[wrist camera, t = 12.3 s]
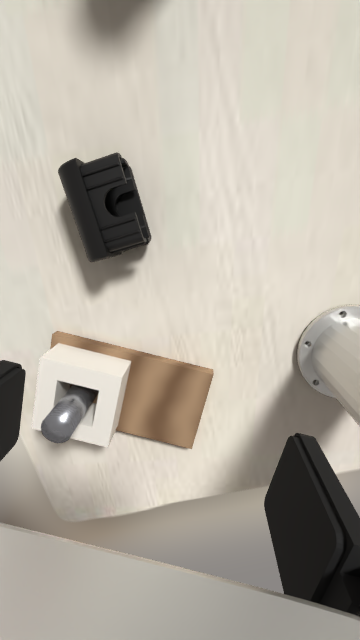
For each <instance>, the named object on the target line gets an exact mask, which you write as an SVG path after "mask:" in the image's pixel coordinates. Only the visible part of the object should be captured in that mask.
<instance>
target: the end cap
mask: <svg viewBox="0 0 360 640" xmlns="http://www.w3.org/2000/svg"><path fill="white" fill-rule="evenodd" d="M58 173H59V176H60V179H61V182H62V185H63V188H64V191H65V193H66V196H67V199H68V202H69V205H70V208H71V211H72V214H73V216H74V219H75V222H76V225H77V228H78V231H79V234H80V237H81V239H82V242H83V245H84V248H85V251H86V254H87V257H88V260H89V261H90V262H95V261H99V260H102V259H106V258H110V257H113V256H116V255H120V254H122V251H125V250H129V249H132V248H135V247H139V246H142V245H146V244H148V243H149V241H150V240H151V234H150V231H149V227H148V224H147V220H146V217H145V214H144V210H143V207H142V203H141V200H140V197H139V193H138V190H137V187H136V183H135V180H134V176H133V173H132V170H131V168H130V167H129V165H128V163H127V161H126V160H125V159H123V158H122V157H121V155H120V154H119V153H114V154H111V155H108V156H105V157H102V158H99V159H96V160H94V161H91V162H88V163H83V162H82V161H80V160H79V159H77V158H74V159H72V160H69V161H67V162H66V163H64V164H63V165H62V166H60V168H59V170H58Z"/></svg>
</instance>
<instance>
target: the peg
mask: <svg viewBox="0 0 360 640" xmlns="http://www.w3.org/2000/svg"><path fill="white" fill-rule="evenodd" d="M98 393H99V390H95V389H91V388H87V387H83V386H79V385H75V384H73V385H72V386H71V388H70V389H69V390H68V391H67V392H66V393H65V395H64V396H63V397H62V398H61V399H60V401H59V402H58V403H57V404H56V405H55V407H54V408H53V409H52V410H51V411H50V413H49V414H48V415H47V416H46V417H45V419H44V420H43V421H42V423H41V431H42V433H43V435H44V436H45V437H46V438H47V439H48V440H50V441H52V442H55V443H63V442H66V441H67V440H69V438H70V437H71V435H72V434H73V432H74V431H75V429H76V428H77V426H78V424H79V423H80V421H81V420H82V418H83V417H84V415H85V413H86V412H87V410H88V409H89V407H90V406H91V404H92V402H93V401H94V399H95V398H96V396H97V395H98Z"/></svg>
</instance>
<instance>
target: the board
mask: <svg viewBox="0 0 360 640" xmlns="http://www.w3.org/2000/svg"><path fill="white" fill-rule="evenodd" d="M58 343H60V344H64V345H68V346H72V347H76V348H80V349H84V350H88V351H92V352H97V353H101V354H105V355H109V356H113V357H117V358H121V359H125V360H129V361H131V365H130V370H129V375H128V380H127V385H126V389H125V394H124V399H123V404H122V408H121V413H120V418H119V423H118V426H117V428H116V430H117V431H121V432H125V433H129V434H134V435H138V436H142V437H146V438H150V439H154V440H158V441H162V442H166V443H170V444H174V445H178V446H182V447H186V448H190V449H192V446H193V443H194V439H195V436H196V432H197V429H198V426H199V422H200V419H201V415H202V412H203V408H204V405H205V402H206V398H207V395H208V391H209V388H210V385H211V381H212V378H213V370H212V369H208V368H204V367H200V366H196V365H192V364H188V363H184V362H180V361H176V360H172V359H168V358H164V357H160V356H156V355H152V354H148V353H144V352H140V351H136V350H132V349H128V348H124V347H120V346H116V345H112V344H108V343H104V342H100V341H95V340H91V339H87V338H83V337H79V336H75V335H71V334H67V333H63V332H59V331H57V332H55V333H54V334H52V341H51V348H53V347H54V346H55V345H57V344H58ZM51 348H50V349H51ZM72 385H73V384H70V388H71V386H72ZM98 394H99V393H98ZM97 399H98V395H97V396H96V398H95V399H94V401H93V402H92V403H95V404H97Z"/></svg>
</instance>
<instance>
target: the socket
mask: <svg viewBox="0 0 360 640" xmlns="http://www.w3.org/2000/svg"><path fill="white" fill-rule="evenodd" d="M130 365H131V361H129V360H125V359H121V358H117V357H113V356H109V355H105V354H101V353H97V352H92V351H88V350H84V349H80V348H76V347H72V346H68V345H64V344H60V343H58V344H57V345H55V346H54V347H53V348H51V349H50V350H49V351H47V352H46V353H45V354H43V355H42V356H41V357H40V360H39V368H38V377H37V385H36V393H35V401H34V410H33V418H32V426H31V429H35V430H39V431H41V423H42V421H43V420H44V419H45V417H46V416H47V415H48V414H49V413H50V411H51V410H52V409H53V408H54V407H55V405H56V404H57V403H58V402H59V401H60V399H61V398H62V397H63V396H64V395H65V393H66V392H67V391H68V390H69V389H70V384H75V385H79V386H83V387H87V388H91V389H95V390H99V394H98V399H97V404H95V403H92V404H91V406H90V407H89V409H88V410H87V412H86V413H85V415H84V417H83V418H82V420H81V421H80V423H79V424H78V426H77V428H76V429H75V431H74V432H73V434H72V435H71V437H70V438H71V439H75V440H79V441H83V442H87V443H91V444H95V445H99V446H103V447H107V448H108V446H109V444H110V442H111V439H112V437H113V435H114V433H115V430H116V428H117V426H118V423H119V418H120V413H121V408H122V404H123V399H124V394H125V389H126V385H127V380H128V375H129V370H130Z"/></svg>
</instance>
